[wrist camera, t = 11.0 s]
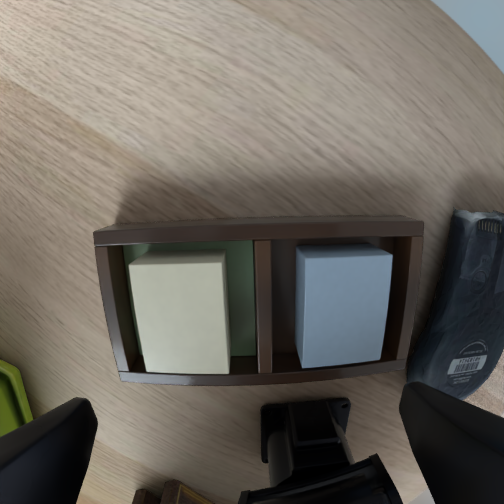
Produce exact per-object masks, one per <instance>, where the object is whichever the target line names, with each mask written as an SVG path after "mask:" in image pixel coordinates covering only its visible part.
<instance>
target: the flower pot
mask: <svg viewBox="0 0 504 504" xmlns="http://www.w3.org/2000/svg"><path fill="white" fill-rule="evenodd" d="M32 420H33V417H32V413H31V410H30V407H29V403H28V400H27V396H26V393H25V389H24V386H23V382H22V378H21V374H20V371H19V369H18V368H16V367H15V366H13V365H11V364H9V363H7V362H5V361H3V360H1V359H0V437H1V436H3V435H5V434H7V433H9V432H11V431H13V430H15V429H17V428H19V427H21V426H23V425H24V424H26V423H28V422H30V421H32Z"/></svg>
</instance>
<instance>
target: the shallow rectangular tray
mask: <svg viewBox="0 0 504 504" xmlns="http://www.w3.org/2000/svg"><path fill="white" fill-rule="evenodd" d="M423 231H424V222H423V221H420V220H416V219H412V218H408V217H405V216H387V215H358V216H285V217H249V218H221V219H198V220H177V221H158V222H141V223H125V224H113V225H110V226H108V227H105V228H102V229H99V230H96V231H94V232H93V236H94V245H95V246H96V247H95V254H96V262H97V269H98V276H99V282H100V289H101V294H102V300H103V306H104V311H105V316H106V321H107V326H108V331H109V335H110V340H111V344H112V348H113V353H114V357H115V361H116V365H117V368H118V370H119V371H118V372H119V376H120V380H121V381H124V382H135V383H149V384H165V385H192V386H243V385H270V384H287V383H301V382H312V381H323V380H332V379H341V378H349V377H357V376H364V375H371V374H377V373H383V372H389V371H395V370H401V369H404V368H405V364H406V358H407V355H408V350H409V345H410V340H411V335H412V329H413V323H414V317H415V311H416V304H417V297H418V289H419V281H420V272H421V262H422V250H423ZM368 243H371V244H373V245H375V246H377V247H378V248H380V249H382V250H384V251H386V252H388V253H390V254H392V256H393V257H392V270H391V281H390V291H389V301H388V309H387V317H386V325H385V332H384V338H383V345H382V351H381V357H380V360H373V361H366V362H359V363H350V364H342V365H332V366H322V367H311V368H302V366H301V362H300V359H299V356H298V352H297V349H296V345H295V295H296V246H301V245H334V244H368ZM203 249H226V261H227V281H228V299H229V316H230V333H231V356H230V368H229V374H186V373H160V372H147V371H146V367H145V362H144V357H143V352H142V347H141V342H140V337H139V331H138V325H137V320H136V314H135V307H134V301H133V294H132V287H131V280H130V272H129V264H131V263H132V262H133V261H135V260H136V259H137V258H139V257H140V256H141V255H143V254H144V253H146V252H147V251H173V250H203Z"/></svg>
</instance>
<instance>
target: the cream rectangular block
mask: <svg viewBox="0 0 504 504" xmlns="http://www.w3.org/2000/svg"><path fill="white" fill-rule="evenodd" d="M129 272H130V280H131V287H132V294H133V301H134V307H135V314H136V320H137V325H138V331H139V337H140V342H141V347H142V352H143V357H144V362H145V367H146V371H147V372H160V373H186V374H229V368H230V356H231V333H230V316H229V299H228V281H227V261H226V249H203V250H173V251H147V252H146V253H144V254H143V255H141V256H140V257H139V258H137V259H136V260H135V261H133V262H132V263H131V264H129Z"/></svg>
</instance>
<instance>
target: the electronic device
mask: <svg viewBox="0 0 504 504" xmlns="http://www.w3.org/2000/svg"><path fill="white" fill-rule="evenodd" d="M503 349H504V214H503V213H500V212H497V211H494V210H493V212H491V213H490V212H474V213H470V212H468V211H467V210H456V209H455V208H454V211H453V215H452V218H451V225H450V232H449V238H448V244H447V249H446V254H445V258H444V261H443V266H442V270H441V275H440V278H439V281H438V284H437V289H436V295H435V299H434V300H433V304H432V308H431V311H430V317H429V319H428V321H427V324H426V326H425V330H424V331H423V332H422V334H421V335H420V337H419V339H418V341H417V343H416V345H415V347H414V350H413V353H412V355H411V356H410V358H409V361H408V366H407V373H406V376H407V380H406V381H407V383H411V382H415V381H419V382H422V383H424V384H426V385H428V386H431V387H433V388H435V389H437V390H440V391H442V392H444V393H446V394H449V395H451V396H453V397H455V398H458V399H460V400H464V399H465V398H467V397H468V396H469V395H471V394H472V393H474V392H475V391H476V390H477V389H478V388H479V387H480V386H481V385H482V384H483V383H484V382H485V381H486V380H487V379H488V377H489V376H490V374H491V373H492V371H493V370H494V368H495V367H496V364H497V363H498V360H499V359H500V357H501V354H502V352H503Z"/></svg>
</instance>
